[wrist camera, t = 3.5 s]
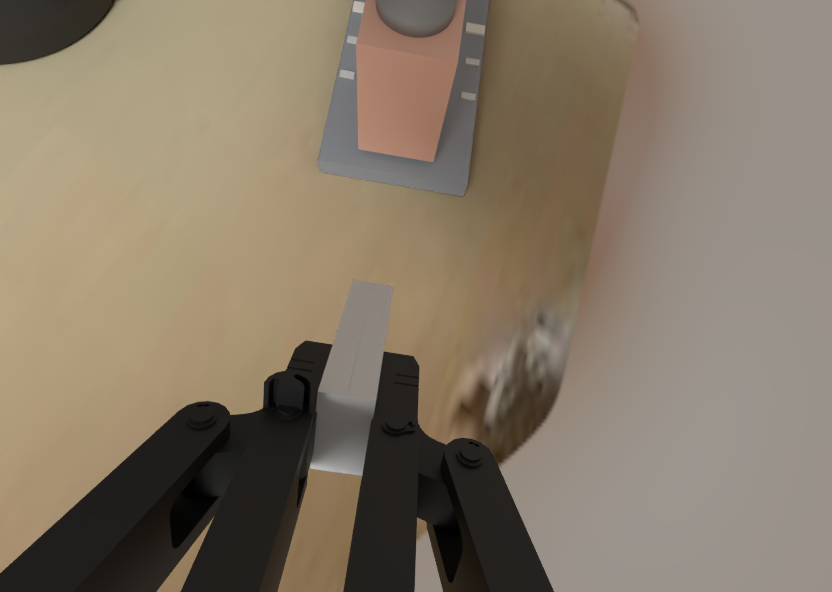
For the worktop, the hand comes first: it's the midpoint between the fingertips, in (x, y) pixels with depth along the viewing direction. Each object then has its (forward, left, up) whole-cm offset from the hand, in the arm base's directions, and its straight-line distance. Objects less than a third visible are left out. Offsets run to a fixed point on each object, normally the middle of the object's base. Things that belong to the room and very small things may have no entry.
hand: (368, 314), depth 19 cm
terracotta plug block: (-12, +11, -11) cm, 20 cm away
